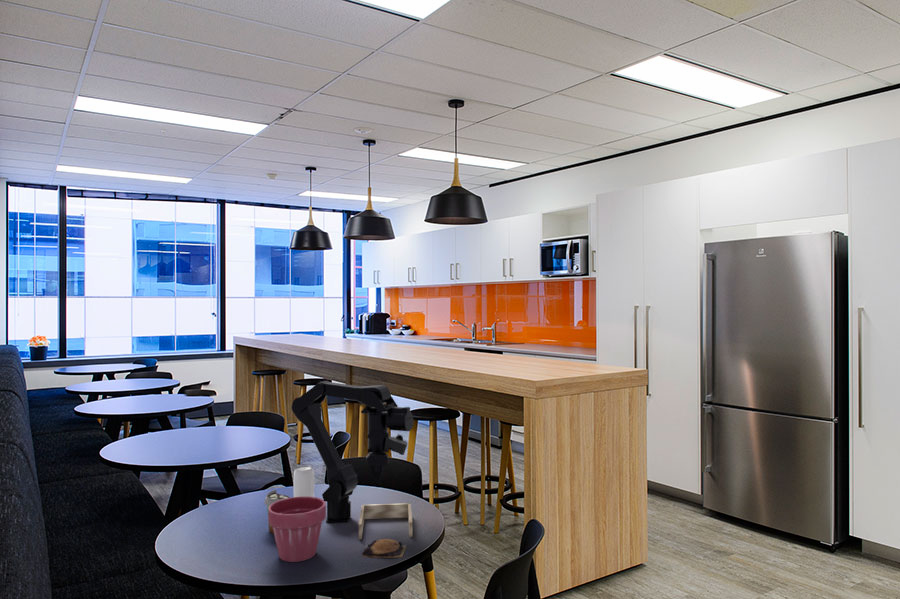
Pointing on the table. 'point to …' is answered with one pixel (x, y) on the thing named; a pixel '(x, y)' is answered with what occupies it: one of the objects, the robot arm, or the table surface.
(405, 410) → the robot arm
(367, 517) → the frame
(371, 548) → the bread roll
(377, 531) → the table surface
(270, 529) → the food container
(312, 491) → the can
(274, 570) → the table surface
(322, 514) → the plant pot
